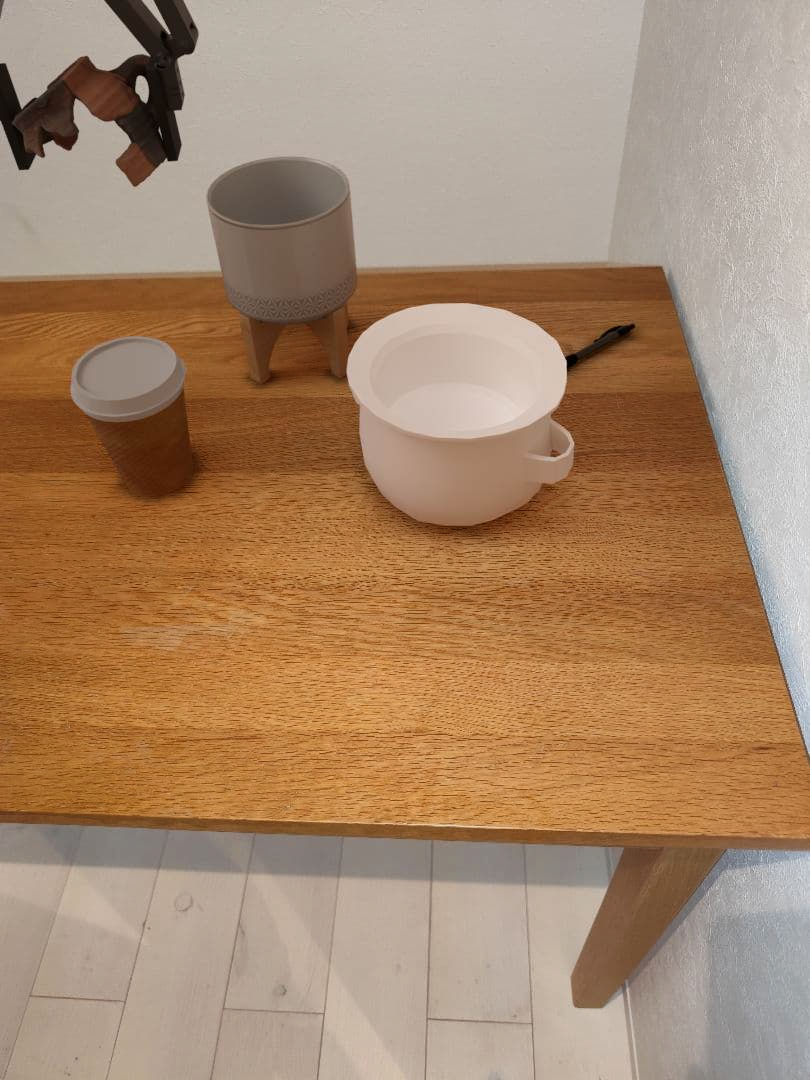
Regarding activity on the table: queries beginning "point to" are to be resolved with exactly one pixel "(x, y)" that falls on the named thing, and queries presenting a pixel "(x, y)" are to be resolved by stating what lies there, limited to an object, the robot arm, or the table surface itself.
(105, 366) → the disposable coffee cup
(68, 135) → the pottery mug
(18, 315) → the table surface
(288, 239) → the planter
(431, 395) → the pot
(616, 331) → the pen
